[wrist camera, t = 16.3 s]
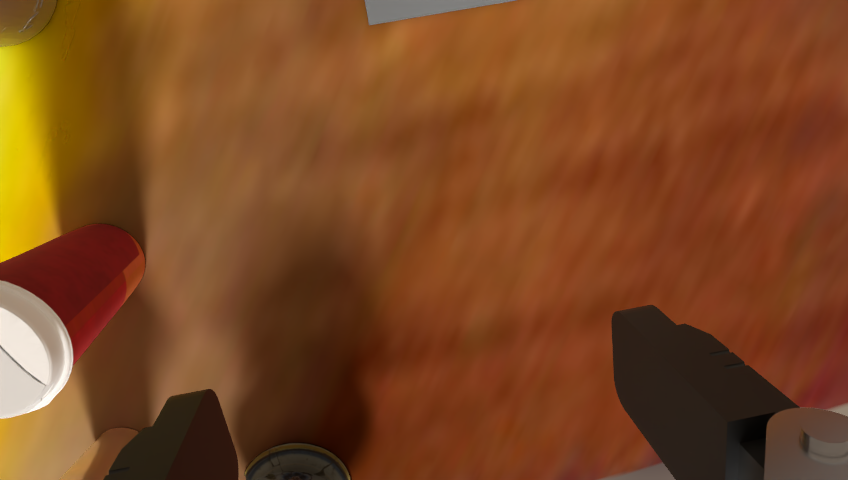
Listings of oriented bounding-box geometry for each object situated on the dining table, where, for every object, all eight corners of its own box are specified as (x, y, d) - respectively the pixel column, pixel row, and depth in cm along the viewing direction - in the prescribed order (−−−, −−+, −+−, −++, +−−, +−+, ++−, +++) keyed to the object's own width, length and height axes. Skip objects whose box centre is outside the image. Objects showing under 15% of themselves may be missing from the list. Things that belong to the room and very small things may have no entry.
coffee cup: (28, 223, 41) (-149, 311, 27) (136, 196, 42) (15, 270, 27) (77, 321, 44) (-62, 446, 30) (178, 296, 44) (87, 409, 30)
